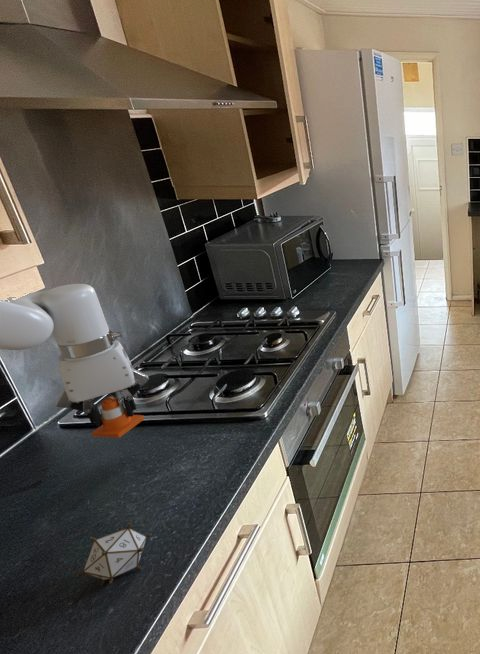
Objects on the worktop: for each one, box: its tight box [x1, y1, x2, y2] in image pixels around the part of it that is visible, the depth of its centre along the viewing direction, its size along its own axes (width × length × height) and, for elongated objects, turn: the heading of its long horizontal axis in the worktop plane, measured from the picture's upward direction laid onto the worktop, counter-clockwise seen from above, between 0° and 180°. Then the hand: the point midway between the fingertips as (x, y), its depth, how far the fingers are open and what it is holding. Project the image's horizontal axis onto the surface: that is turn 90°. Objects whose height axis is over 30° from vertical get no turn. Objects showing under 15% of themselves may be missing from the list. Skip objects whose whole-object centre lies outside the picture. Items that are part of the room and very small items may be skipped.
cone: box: [91, 396, 145, 439], centre depth 89 cm, size 6×6×8 cm
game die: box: [75, 522, 153, 586], centre depth 70 cm, size 9×8×10 cm
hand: (115, 417), depth 90 cm, fingers closed on cone, 4 cm apart
